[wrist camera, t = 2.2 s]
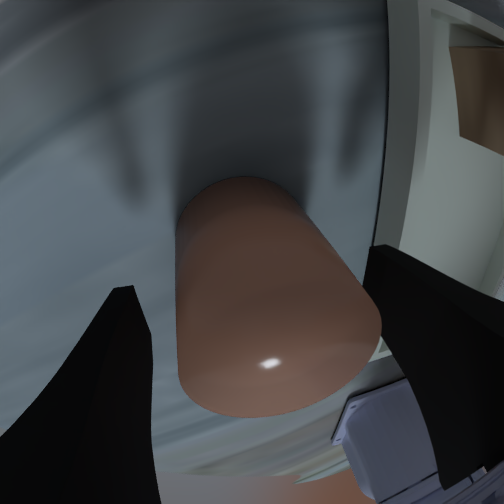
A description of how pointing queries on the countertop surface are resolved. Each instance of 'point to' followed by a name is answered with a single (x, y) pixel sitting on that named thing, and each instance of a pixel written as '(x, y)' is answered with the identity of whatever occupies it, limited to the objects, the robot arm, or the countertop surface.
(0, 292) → the countertop surface
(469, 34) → the tray
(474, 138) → the walnut block
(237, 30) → the countertop surface
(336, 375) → the brown rounded cylinder
